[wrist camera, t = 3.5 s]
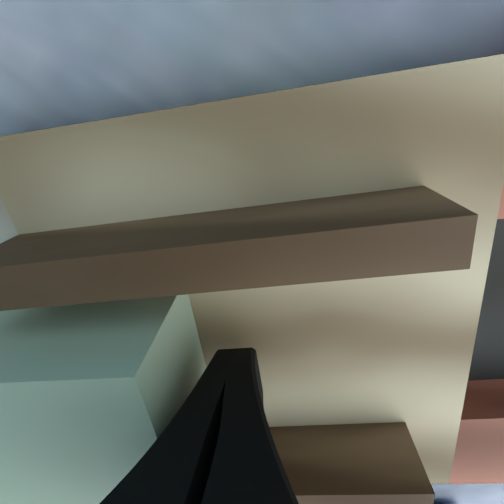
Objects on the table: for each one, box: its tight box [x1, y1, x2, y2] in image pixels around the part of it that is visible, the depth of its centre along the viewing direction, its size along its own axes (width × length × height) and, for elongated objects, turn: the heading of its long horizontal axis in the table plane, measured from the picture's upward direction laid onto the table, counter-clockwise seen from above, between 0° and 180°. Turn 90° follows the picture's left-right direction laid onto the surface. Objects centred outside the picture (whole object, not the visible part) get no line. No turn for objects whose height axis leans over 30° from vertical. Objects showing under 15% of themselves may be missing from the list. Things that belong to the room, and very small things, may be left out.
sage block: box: [0, 294, 206, 504], centre depth 10 cm, size 6×7×4 cm
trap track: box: [0, 54, 504, 504], centre depth 11 cm, size 16×31×4 cm, turn 98°
